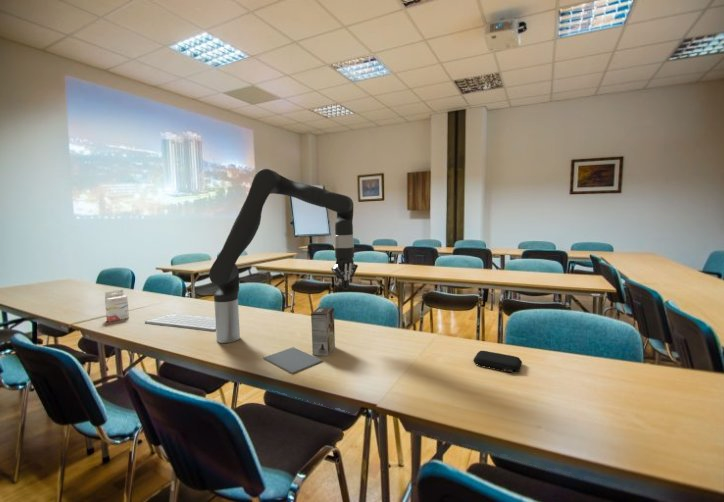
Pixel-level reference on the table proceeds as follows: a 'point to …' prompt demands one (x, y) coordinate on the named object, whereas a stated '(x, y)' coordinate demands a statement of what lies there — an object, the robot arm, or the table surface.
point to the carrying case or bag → (498, 361)
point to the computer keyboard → (185, 322)
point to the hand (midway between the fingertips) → (345, 289)
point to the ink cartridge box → (116, 306)
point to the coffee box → (323, 331)
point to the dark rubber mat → (292, 360)
